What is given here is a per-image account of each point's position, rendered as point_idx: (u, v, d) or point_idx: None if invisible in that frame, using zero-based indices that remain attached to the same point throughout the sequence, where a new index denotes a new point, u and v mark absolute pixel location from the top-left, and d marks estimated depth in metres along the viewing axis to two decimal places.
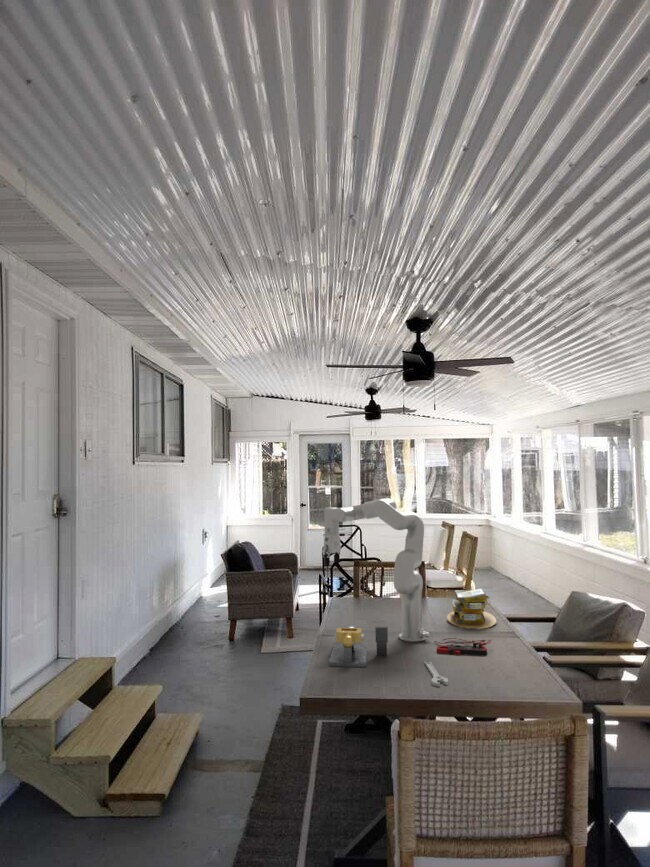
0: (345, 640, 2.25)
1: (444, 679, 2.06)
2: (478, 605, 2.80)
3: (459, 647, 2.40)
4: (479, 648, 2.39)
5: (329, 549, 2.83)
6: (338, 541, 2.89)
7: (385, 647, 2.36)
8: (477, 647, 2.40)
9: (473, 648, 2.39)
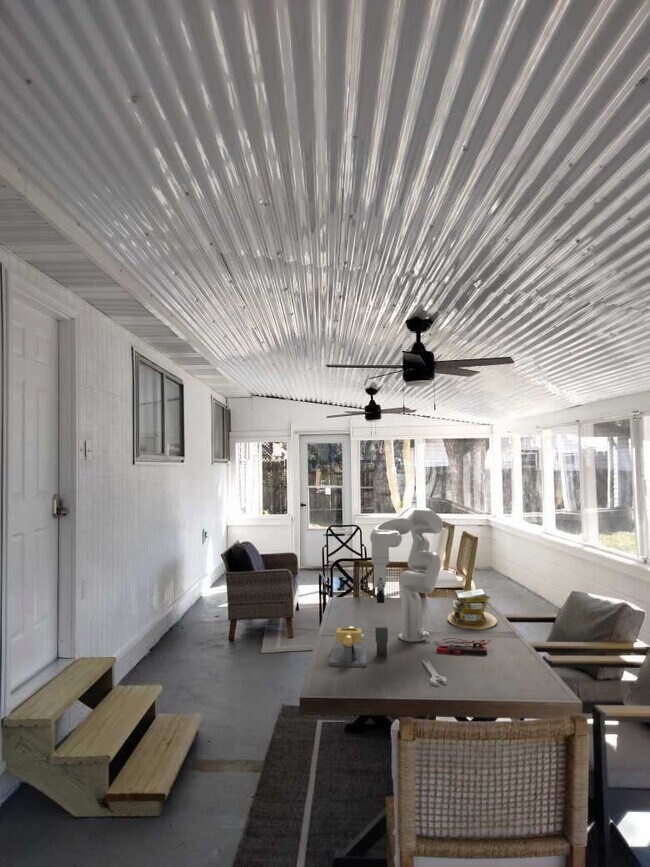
0: (345, 640, 2.25)
1: (443, 678, 2.07)
2: (479, 605, 2.80)
3: (459, 647, 2.40)
4: (479, 648, 2.39)
5: None
6: None
7: (385, 647, 2.36)
8: (477, 647, 2.40)
9: (473, 648, 2.39)
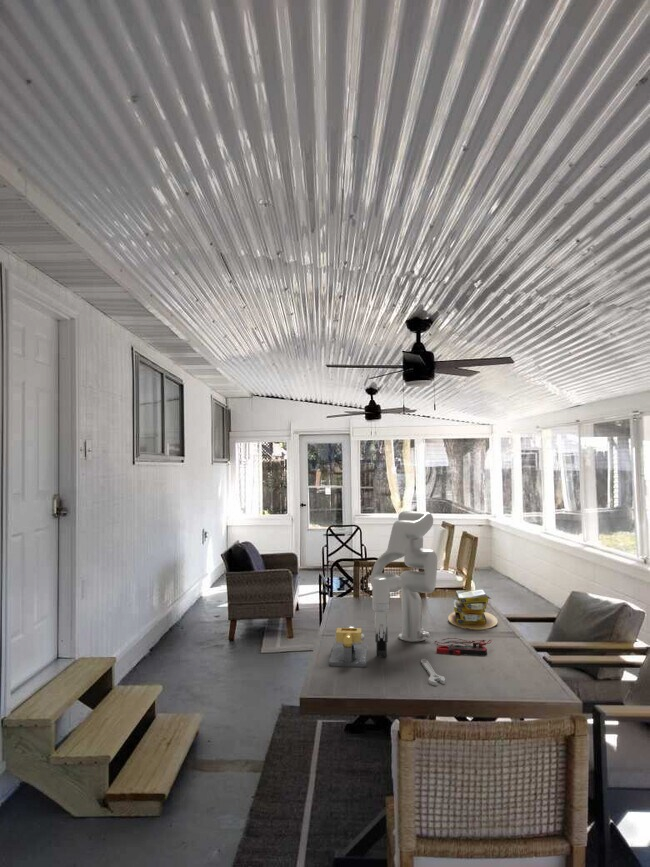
0: (345, 640, 2.25)
1: (441, 678, 2.08)
2: (479, 605, 2.79)
3: (459, 647, 2.40)
4: (479, 648, 2.39)
5: None
6: None
7: (385, 647, 2.36)
8: (477, 647, 2.40)
9: (473, 648, 2.39)
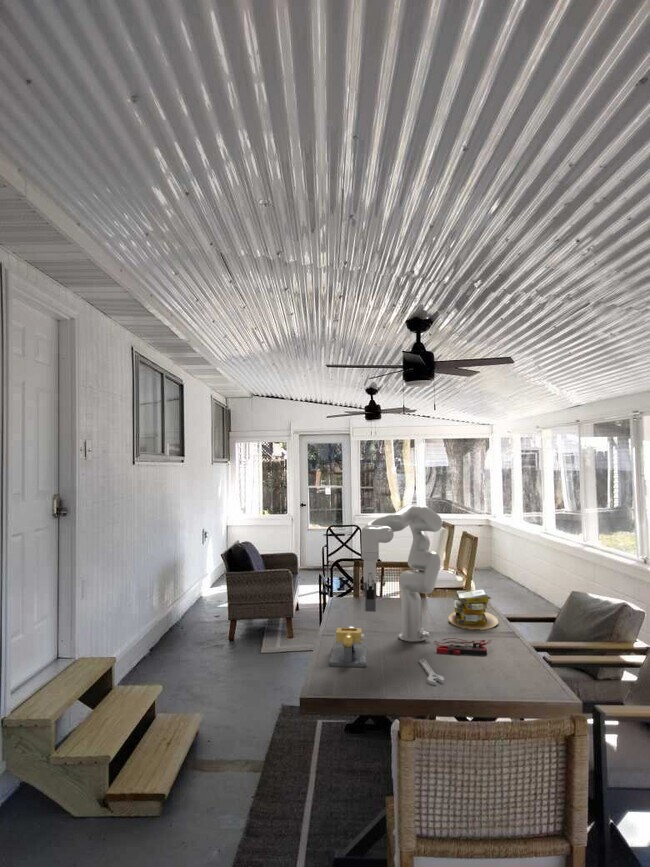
0: (345, 640, 2.25)
1: (440, 677, 2.08)
2: (480, 606, 2.79)
3: (459, 647, 2.40)
4: (479, 648, 2.39)
5: None
6: None
7: (374, 602, 2.37)
8: (477, 647, 2.40)
9: (473, 648, 2.39)
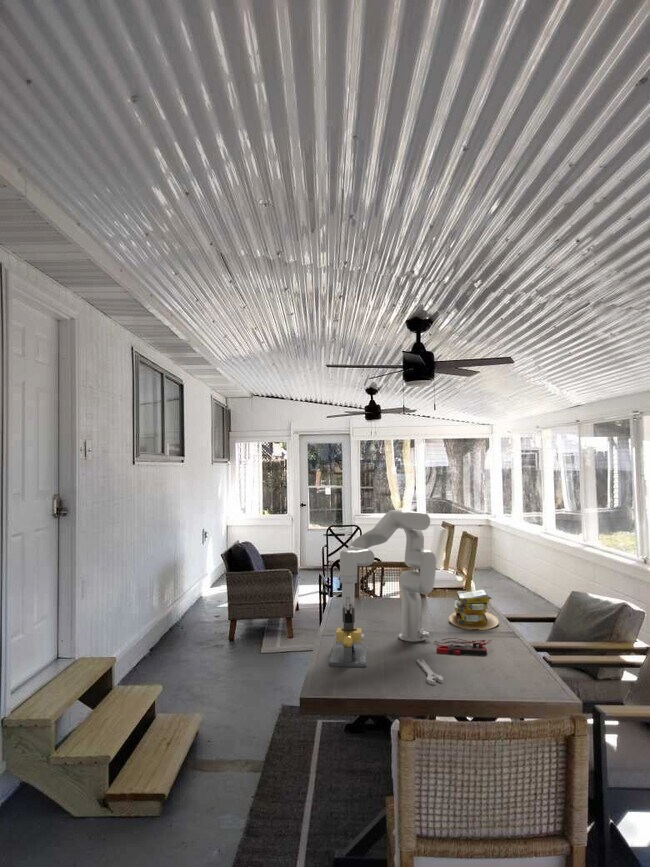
0: (345, 640, 2.25)
1: (439, 677, 2.08)
2: (480, 606, 2.79)
3: (459, 647, 2.40)
4: (479, 648, 2.39)
5: None
6: None
7: (352, 627, 2.36)
8: (477, 647, 2.40)
9: (473, 648, 2.39)
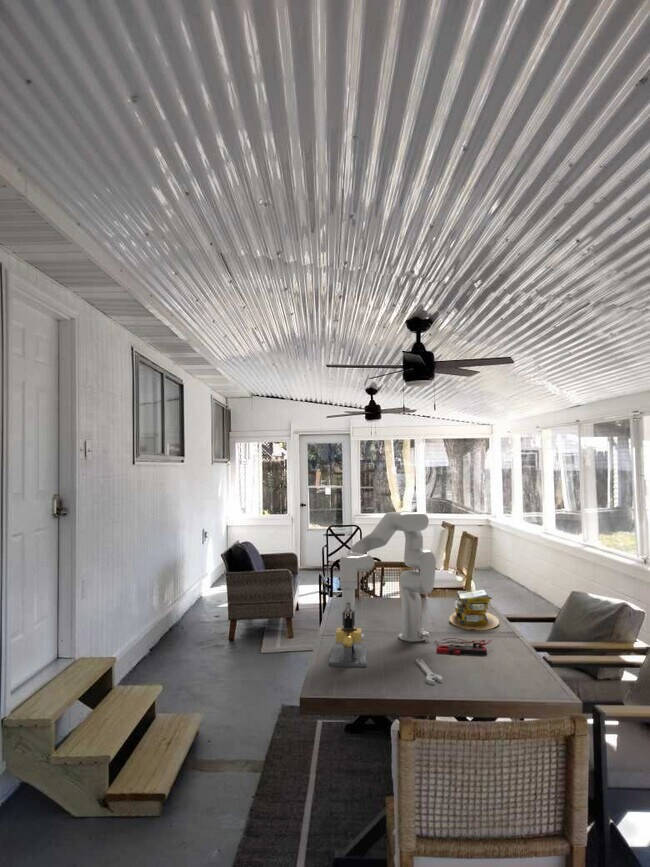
0: (345, 640, 2.25)
1: (438, 677, 2.09)
2: (481, 606, 2.78)
3: (459, 647, 2.40)
4: (479, 648, 2.39)
5: None
6: None
7: (352, 630, 2.36)
8: (477, 647, 2.40)
9: (473, 648, 2.39)
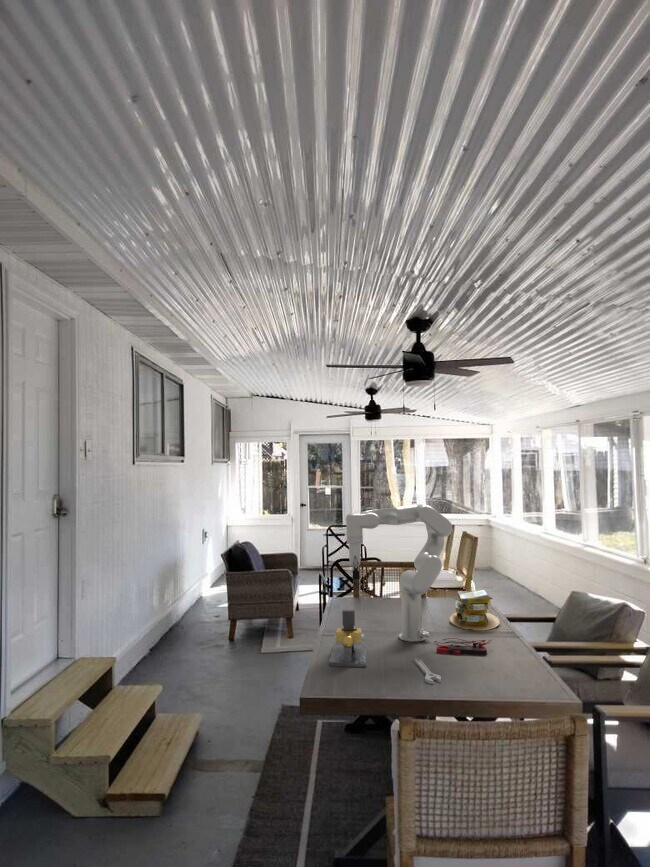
0: (345, 640, 2.25)
1: (437, 676, 2.09)
2: (481, 606, 2.78)
3: (459, 647, 2.40)
4: (479, 648, 2.39)
5: None
6: (349, 553, 2.54)
7: (352, 630, 2.36)
8: (477, 647, 2.40)
9: (473, 648, 2.39)
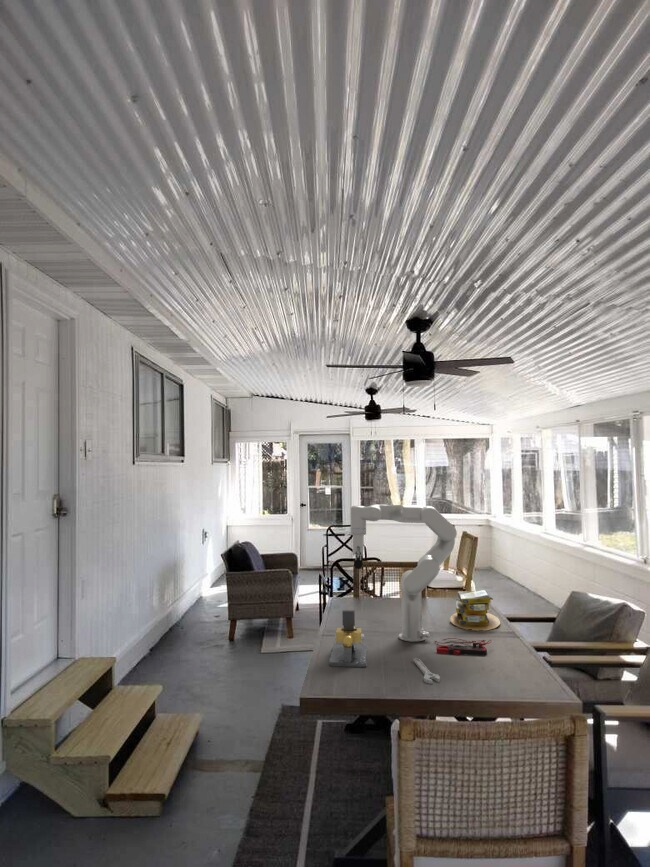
0: (345, 640, 2.25)
1: (436, 676, 2.10)
2: (482, 606, 2.77)
3: (459, 647, 2.40)
4: (479, 648, 2.39)
5: None
6: None
7: (352, 630, 2.36)
8: (477, 647, 2.40)
9: (473, 648, 2.39)
